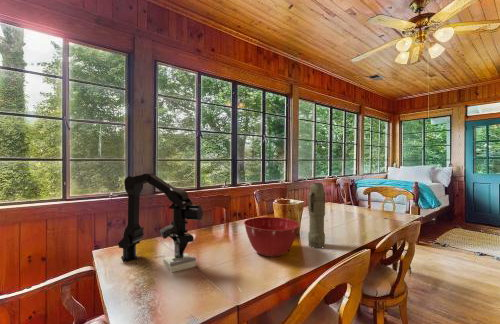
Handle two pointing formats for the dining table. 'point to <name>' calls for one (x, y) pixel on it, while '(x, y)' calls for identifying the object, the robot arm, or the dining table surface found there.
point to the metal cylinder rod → (177, 251)
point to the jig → (179, 262)
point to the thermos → (316, 215)
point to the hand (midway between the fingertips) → (179, 253)
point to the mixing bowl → (271, 234)
